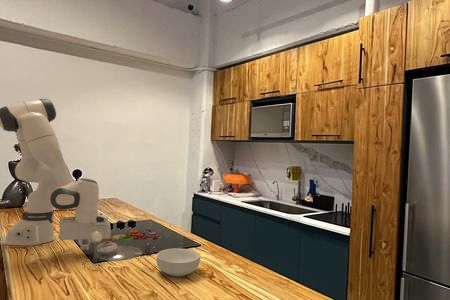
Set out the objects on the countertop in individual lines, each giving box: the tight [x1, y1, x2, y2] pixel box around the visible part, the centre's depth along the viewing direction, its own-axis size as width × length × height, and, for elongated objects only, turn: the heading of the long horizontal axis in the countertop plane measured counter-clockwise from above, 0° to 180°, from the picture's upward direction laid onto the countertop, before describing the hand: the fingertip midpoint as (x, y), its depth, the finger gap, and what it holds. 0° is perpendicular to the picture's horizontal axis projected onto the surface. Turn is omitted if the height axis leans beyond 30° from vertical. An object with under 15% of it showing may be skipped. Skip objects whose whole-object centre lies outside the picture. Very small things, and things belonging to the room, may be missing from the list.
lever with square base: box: [90, 231, 103, 264], centre depth 125 cm, size 4×5×14 cm
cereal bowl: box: [156, 247, 201, 277], centre depth 123 cm, size 17×17×7 cm
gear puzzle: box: [102, 227, 162, 242], centre depth 165 cm, size 31×16×4 cm, turn 130°
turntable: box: [97, 242, 152, 262], centre depth 138 cm, size 23×20×6 cm
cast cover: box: [97, 240, 118, 256], centre depth 136 cm, size 8×8×5 cm
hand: (84, 249), depth 134 cm, fingers closed
